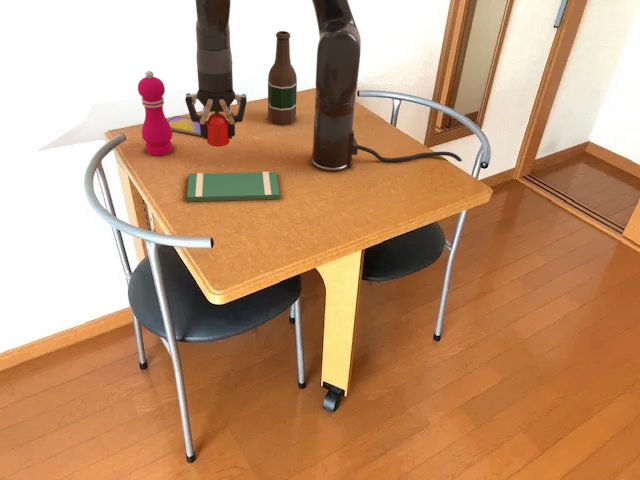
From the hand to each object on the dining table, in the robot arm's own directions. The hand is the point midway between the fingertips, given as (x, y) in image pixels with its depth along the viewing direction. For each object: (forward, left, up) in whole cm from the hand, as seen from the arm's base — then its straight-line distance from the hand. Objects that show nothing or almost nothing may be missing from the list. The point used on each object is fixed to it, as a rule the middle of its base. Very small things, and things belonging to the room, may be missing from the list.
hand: (218, 137), depth 130 cm
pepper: (0, 0, -1) cm, 1 cm away
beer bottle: (-17, -24, -7) cm, 30 cm away
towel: (-3, +12, -7) cm, 14 cm away
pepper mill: (+15, -7, -7) cm, 18 cm away
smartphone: (+7, -19, -7) cm, 21 cm away
